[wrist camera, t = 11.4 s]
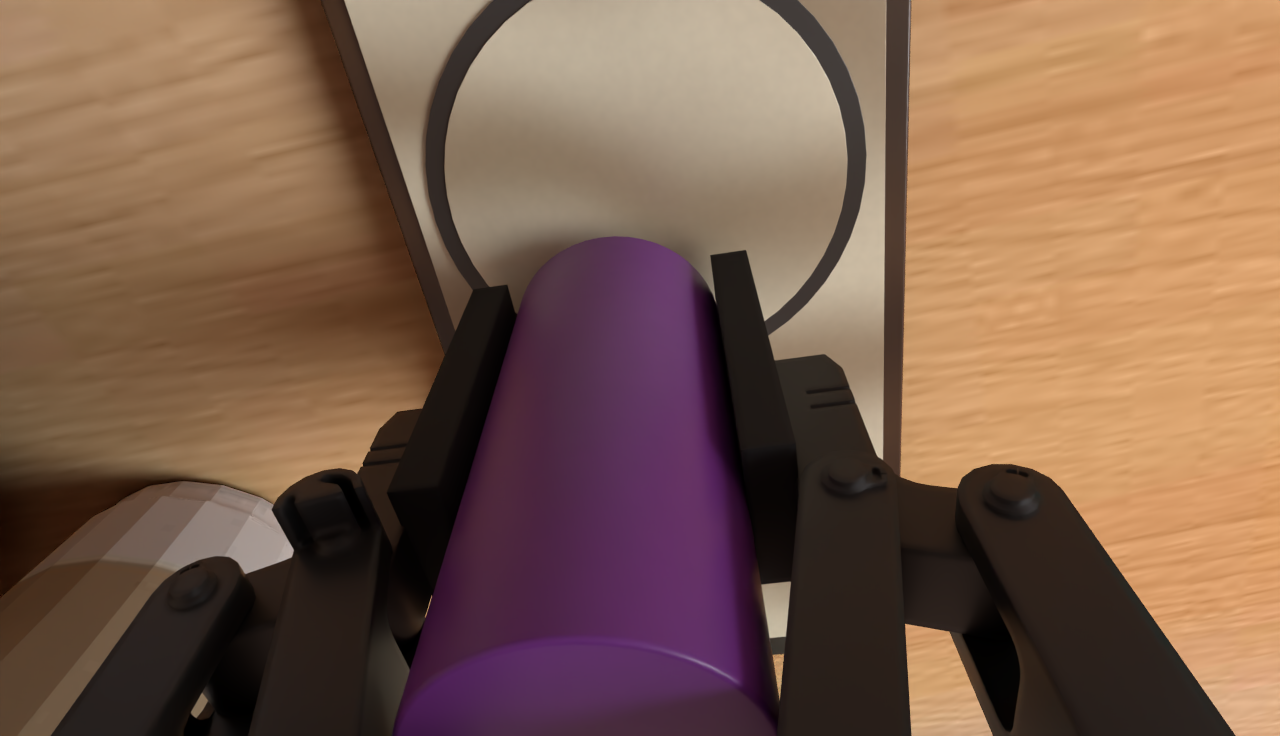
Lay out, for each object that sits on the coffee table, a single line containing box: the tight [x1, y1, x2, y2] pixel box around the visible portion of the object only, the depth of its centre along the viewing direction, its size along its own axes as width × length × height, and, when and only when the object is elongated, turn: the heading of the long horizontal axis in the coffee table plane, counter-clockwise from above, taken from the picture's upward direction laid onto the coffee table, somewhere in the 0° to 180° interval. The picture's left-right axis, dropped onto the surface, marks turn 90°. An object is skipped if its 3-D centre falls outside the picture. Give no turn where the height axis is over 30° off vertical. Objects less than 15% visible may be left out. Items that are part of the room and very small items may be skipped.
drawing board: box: [321, 0, 911, 655], centre depth 19 cm, size 24×11×1 cm, turn 9°
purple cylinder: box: [392, 236, 780, 736], centre depth 13 cm, size 4×4×11 cm
